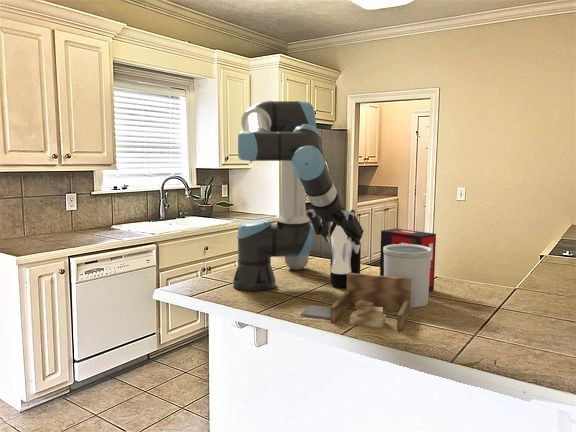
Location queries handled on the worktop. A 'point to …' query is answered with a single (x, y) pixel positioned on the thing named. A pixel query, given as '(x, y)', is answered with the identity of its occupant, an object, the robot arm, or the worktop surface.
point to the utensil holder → (410, 268)
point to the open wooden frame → (376, 295)
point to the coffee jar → (341, 280)
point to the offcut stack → (368, 315)
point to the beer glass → (340, 250)
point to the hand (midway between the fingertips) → (346, 248)
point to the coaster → (317, 312)
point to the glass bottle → (297, 260)
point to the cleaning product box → (409, 238)
